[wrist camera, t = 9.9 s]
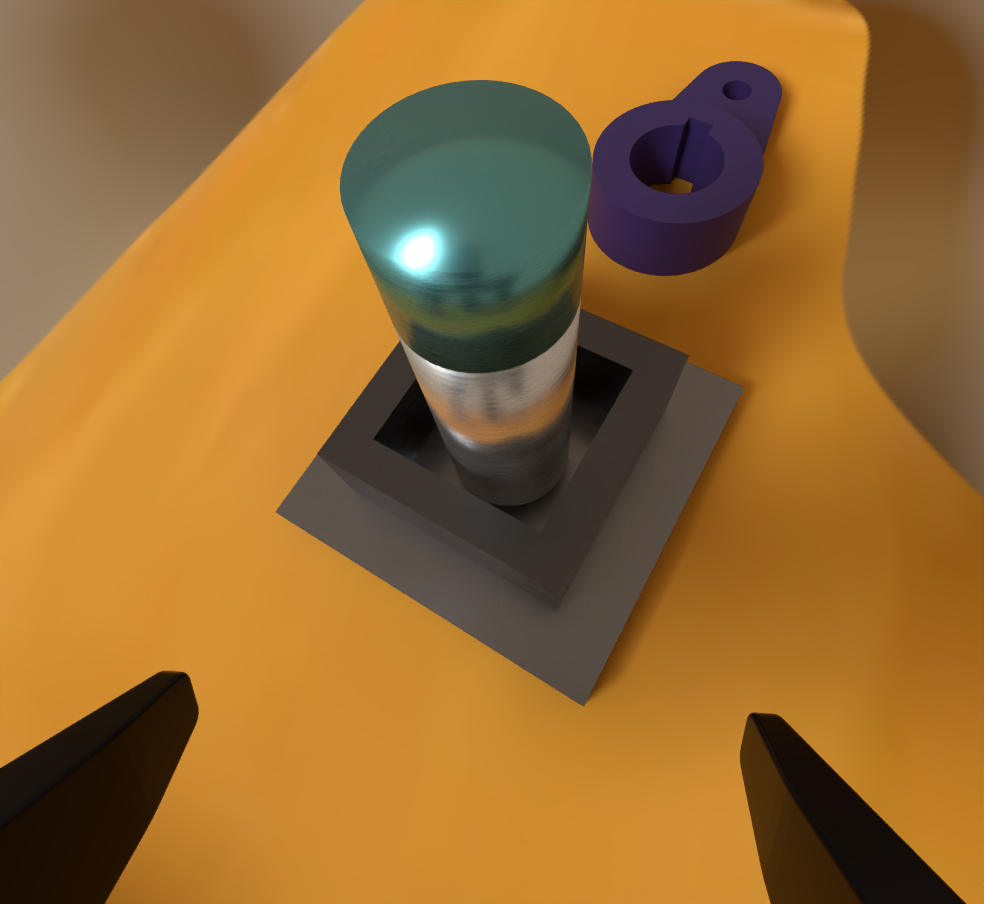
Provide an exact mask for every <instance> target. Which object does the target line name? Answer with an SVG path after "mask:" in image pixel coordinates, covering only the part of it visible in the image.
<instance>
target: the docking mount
mask: <svg viewBox="0 0 984 904" xmlns="http://www.w3.org/2000/svg"><path fill="white" fill-rule="evenodd" d="M688 357H689V355H687V354H685V353H682V352H680V351H678V350H675V349H673V348H671V347H668V346H666V345H664V344H661V343H659V342H657V341H654V340H652V339H650V338H647V337H645V336H643V335H640V334H638V333H636V332H633V331H631V330H629V329H626V328H624V327H622V326H619V325H617V324H615V323H612V322H610V321H608V320H605V319H603V318H601V317H598V316H596V315H594V314H591V313H589V312H587V311H585V310H582V309H580V317H579V329H578V342H577V354H576V366H575V378H574V390H573V402H572V414H571V426H570V438H569V451H568V459H567V464H566V467H565V470H564V472H563V475H562V477H561V478H560V480H559V481H558V483H557V484H556V485H555V486H554V487H553V488H552V489H551V490H550V491H549V492H548V493H547V494H545V495H544V496H542V497H541V498H539V499H537V500H535V501H532V502H530V503H527V504H522V505H516V506H502V505H496V504H493V503H489V502H487V501H485V500H483V499H481V498H479V497H477V496H476V495H475V494H473V493H472V492H471V491H470V490H469V489H468V488H467V487H466V486H465V485H464V483H463V482H462V480H461V479H460V477H459V475H458V473H457V471H456V468H455V466H454V464H453V461H452V459H451V457H450V454H449V452H448V450H447V447H446V445H445V443H444V441H443V438H442V436H441V434H440V431H439V429H438V427H437V424H436V422H435V420H434V417H433V415H432V413H431V411H430V408H429V406H428V404H427V401H426V399H425V397H424V394H423V392H422V390H421V387H420V385H419V383H418V381H417V378H416V376H415V374H414V371H413V369H412V367H411V364H410V362H409V360H408V357H407V355H406V353H405V351H404V348H403V346H402V344H401V341H399V343H398V344H397V346H396V347H395V348H394V350H393V351H392V352H391V354H390V355H389V356H388V358H387V359H386V361H385V362H384V363H383V365H382V366H381V367H380V369H379V370H378V371H377V373H376V374H375V376H374V377H373V378H372V380H371V381H370V382H369V384H368V385H367V386H366V388H365V389H364V391H363V392H362V393H361V395H360V396H359V397H358V399H357V400H356V401H355V403H354V404H353V406H352V407H351V408H350V410H349V411H348V412H347V414H346V415H345V417H344V418H343V419H342V421H341V422H340V423H339V425H338V426H337V427H336V429H335V430H334V432H333V433H332V434H331V436H330V437H329V438H328V440H327V441H326V442H325V444H324V445H323V447H322V448H321V449H320V451H319V452H318V453H317V456H316V457H315V458H314V460H313V461H312V463H311V464H310V465H309V467H308V468H307V469H306V471H305V472H304V473H303V475H302V476H301V478H300V479H299V480H298V482H297V483H296V484H295V486H294V487H293V488H292V490H291V491H290V493H289V494H288V495H287V497H286V498H285V499H284V501H283V502H282V504H281V505H280V506H279V508H278V509H277V510H276V513H278V514H279V515H281V516H283V517H284V518H286V519H287V520H289V521H291V522H292V523H294V524H295V525H297V526H298V527H300V528H302V529H303V530H305V531H306V532H308V533H310V534H311V535H313V536H314V537H316V538H317V539H319V540H321V541H322V542H324V543H325V544H327V545H329V546H330V547H332V548H333V549H335V550H336V551H338V552H340V553H341V554H343V555H344V556H346V557H348V558H349V559H351V560H352V561H354V562H355V563H357V564H359V565H360V566H362V567H363V568H365V569H367V570H368V571H370V572H371V573H373V574H375V575H376V576H378V577H379V578H381V579H382V580H384V581H386V582H387V583H389V584H390V585H392V586H394V587H395V588H397V589H398V590H400V591H401V592H403V593H405V594H406V595H408V596H409V597H411V598H413V599H414V600H416V601H417V602H419V603H420V604H422V605H424V606H425V607H427V608H428V609H430V610H432V611H433V612H435V613H436V614H438V615H439V616H441V617H443V618H444V619H446V620H447V621H449V622H451V623H452V624H454V625H455V626H457V627H459V628H460V629H462V630H463V631H465V632H466V633H468V634H470V635H471V636H473V637H474V638H476V639H478V640H479V641H481V642H482V643H484V644H485V645H487V646H489V647H490V648H492V649H493V650H495V651H497V652H498V653H500V654H501V655H503V656H504V657H506V658H508V659H509V660H511V661H512V662H514V663H516V664H517V665H519V666H520V667H522V668H523V669H525V670H527V671H528V672H530V673H531V674H533V675H535V676H536V677H538V678H539V679H541V680H543V681H544V682H546V683H547V684H549V685H550V686H552V687H554V688H555V689H557V690H558V691H560V692H562V693H563V694H565V695H566V696H568V697H569V698H571V699H573V700H574V701H576V702H577V703H579V704H581V705H582V706H584V705H585V703H586V701H587V699H588V697H589V695H590V693H591V691H592V689H593V687H594V685H595V683H596V681H597V679H598V677H599V675H600V673H601V671H602V669H603V667H604V665H605V663H606V661H607V659H608V657H609V655H610V653H611V651H612V649H613V647H614V646H615V644H616V642H617V640H618V638H619V636H620V634H621V632H622V630H623V628H624V626H625V624H626V622H627V620H628V618H629V616H630V614H631V612H632V610H633V608H634V606H635V604H636V602H637V600H638V598H639V596H640V594H641V592H642V590H643V588H644V586H645V584H646V582H647V580H648V578H649V576H650V574H651V572H652V570H653V568H654V566H655V564H656V562H657V560H658V558H659V556H660V554H661V552H662V550H663V548H664V546H665V544H666V542H667V540H668V538H669V536H670V534H671V532H672V530H673V528H674V526H675V524H676V522H677V520H678V518H679V516H680V514H681V512H682V510H683V508H684V506H685V504H686V502H687V500H688V498H689V496H690V494H691V492H692V490H693V488H694V486H695V484H696V482H697V480H698V478H699V476H700V474H701V472H702V470H703V468H704V466H705V464H706V462H707V460H708V458H709V456H710V454H711V452H712V451H713V449H714V447H715V445H716V443H717V441H718V439H719V437H720V435H721V433H722V431H723V429H724V427H725V425H726V423H727V421H728V419H729V417H730V415H731V413H732V411H733V409H734V407H735V405H736V403H737V401H738V399H739V397H740V395H741V393H742V391H743V389H744V387H743V386H741V385H738V384H736V383H734V382H731V381H729V380H727V379H724V378H722V377H720V376H718V375H715V374H713V373H711V372H708V371H706V370H704V369H701V368H699V367H697V366H695V365H692V364H690V363H688V362H686V361H687V359H688Z"/></svg>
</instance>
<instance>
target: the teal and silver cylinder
mask: <svg viewBox="0 0 984 904" xmlns="http://www.w3.org/2000/svg"><path fill="white" fill-rule="evenodd" d="M591 172H592V158H591V152H590V147H589V144H588V141H587V138H586V136H585V133H584V132H583V130H582V128H581V127H580V125H579V123H578V122H577V121H576V120H575V118H574V117H573V116H572V115H571V114H570V113H569V112H568V111H567V110H566V109H565V108H564V107H563V106H562V105H560V104H559V103H557V102H556V101H554V100H553V99H551V98H550V97H548V96H546V95H544V94H542V93H540V92H538V91H535V90H533V89H530V88H527V87H525V86H521V85H517V84H513V83H507V82H500V81H489V80H472V81H460V82H453V83H448V84H443V85H439V86H435V87H432V88H429V89H426V90H422V91H420V92H417V93H415V94H413V95H410V96H408V97H406V98H404V99H402V100H401V101H399V102H397V103H395V104H393V105H392V106H390V107H389V108H388V109H386V110H385V111H383V112H382V113H381V114H379V115H378V116H377V117H376V118H375V119H373V120H372V121H371V122H370V123H369V124H368V125H367V126H366V127H365V129H364V130H363V131H362V132H361V133H360V135H359V136H358V137H357V139H356V140H355V141H354V143H353V145H352V146H351V148H350V150H349V152H348V154H347V156H346V159H345V162H344V164H343V168H342V173H341V178H340V194H341V202H342V205H343V208H344V211H345V214H346V217H347V219H348V221H349V224H350V226H351V228H352V231H353V233H354V235H355V237H356V240H357V242H358V244H359V247H360V249H361V251H362V254H363V256H364V258H365V261H366V263H367V265H368V267H369V270H370V272H371V274H372V277H373V279H374V281H375V284H376V286H377V288H378V291H379V293H380V295H381V297H382V300H383V302H384V304H385V307H386V309H387V311H388V314H389V316H390V318H391V321H392V323H393V325H394V327H395V330H396V332H397V334H398V337H399V339H400V341H401V344H402V346H403V348H404V351H405V353H406V355H407V357H408V360H409V362H410V364H411V367H412V369H413V371H414V374H415V376H416V378H417V381H418V383H419V385H420V387H421V390H422V392H423V394H424V397H425V399H426V401H427V404H428V406H429V408H430V411H431V413H432V415H433V417H434V420H435V422H436V424H437V427H438V429H439V431H440V434H441V436H442V438H443V441H444V443H445V445H446V447H447V450H448V452H449V454H450V457H451V459H452V461H453V464H454V466H455V468H456V471H457V473H458V475H459V477H460V479H461V480H462V482H463V483H464V485H465V486H466V487H467V488H468V489H469V490H470V491H471V492H472V493H473V494H475V495H476V496H477V497H479V498H481V499H483V500H485V501H487V502H489V503H493V504H496V505H502V506H516V505H522V504H527V503H530V502H532V501H535V500H537V499H539V498H541V497H542V496H544V495H545V494H547V493H548V492H549V491H550V490H551V489H552V488H553V487H554V486H555V485H556V484H557V483H558V481H559V480H560V478H561V477H562V475H563V472H564V470H565V467H566V464H567V459H568V451H569V438H570V426H571V414H572V402H573V390H574V378H575V366H576V354H577V342H578V329H579V317H580V305H581V293H582V281H583V269H584V257H585V245H586V233H587V220H588V208H589V196H590V184H591Z"/></svg>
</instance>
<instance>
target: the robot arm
mask: <svg viewBox="0 0 984 904" xmlns="http://www.w3.org/2000/svg"><path fill="white" fill-rule="evenodd" d="M198 714H199V708H198V704H197V700H196V697H195V694H194V690H193V687H192V683H191V680H190V677H189V676H188V675H187V674H186V673H184V672H177V671H161V672H159V673H157V674H155V675H153V676H152V677H150V678H148V679H147V680H145V681H143V682H142V683H140V684H138V685H137V686H135V687H133V688H132V689H130V690H129V691H127V692H125V693H124V694H122V695H120V696H119V697H117V698H115V699H114V700H112V701H110V702H109V703H107V704H105V705H104V706H102V707H100V708H99V709H97V710H96V711H94V712H92V713H91V714H89V715H87V716H86V717H84V718H82V719H81V720H79V721H77V722H76V723H74V724H72V725H71V726H69V727H67V728H66V729H64V730H62V731H61V732H59V733H58V734H56V735H54V736H53V737H51V738H49V739H48V740H46V741H44V742H43V743H41V744H39V745H38V746H36V747H34V748H33V749H31V750H29V751H28V752H26V753H25V754H23V755H21V756H20V757H18V758H16V759H15V760H13V761H11V762H10V763H8V764H6V765H5V766H3V767H1V768H0V904H105V902H106V901H107V899H108V897H109V895H110V894H111V892H112V890H113V888H114V887H115V885H116V883H117V881H118V879H119V878H120V876H121V874H122V872H123V871H124V869H125V867H126V865H127V864H128V862H129V860H130V858H131V856H132V855H133V853H134V851H135V849H136V848H137V846H138V844H139V842H140V841H141V839H142V837H143V835H144V833H145V832H146V830H147V828H148V826H149V824H150V822H151V820H152V819H153V817H154V815H155V813H156V811H157V809H158V806H159V804H160V802H161V800H162V798H163V796H164V794H165V791H166V789H167V787H168V785H169V783H170V780H171V778H172V776H173V774H174V772H175V769H176V767H177V765H178V763H179V761H180V758H181V756H182V754H183V752H184V750H185V747H186V745H187V743H188V741H189V739H190V736H191V734H192V732H193V730H194V728H195V725H196V723H197V719H198ZM740 764H741V770H742V775H743V780H744V785H745V790H746V795H747V800H748V805H749V810H750V815H751V820H752V825H753V830H754V835H755V840H756V845H757V850H758V855H759V860H760V865H761V869H762V874H763V878H764V882H765V885H766V889H767V893H768V896H769V900H770V903H771V904H966V903H965V902H964V901H963V900H962V899H961V898H960V897H959V896H958V895H957V894H956V893H955V892H954V891H953V890H952V889H951V888H950V887H949V886H948V885H947V884H946V883H945V882H944V881H943V880H942V879H941V878H940V877H939V876H938V875H937V874H936V873H935V872H934V871H933V870H932V869H931V868H930V867H929V866H928V865H927V864H926V863H925V862H924V861H923V860H922V859H921V858H920V857H919V856H918V855H917V854H916V853H915V852H914V850H913V849H912V848H911V847H910V846H909V845H908V844H907V843H906V842H905V841H904V840H903V839H902V838H901V837H900V836H899V835H898V834H897V833H896V832H895V831H894V830H893V829H892V828H891V827H890V826H889V825H888V824H887V823H886V822H885V821H884V820H883V819H882V818H881V817H880V816H879V815H878V814H877V813H876V812H875V811H874V810H873V809H872V808H871V807H870V806H869V805H868V804H867V803H866V802H865V801H864V800H863V799H862V798H861V797H860V796H859V795H858V794H857V793H856V792H855V791H854V790H853V789H852V788H851V787H850V786H849V785H848V784H847V783H846V782H845V781H844V780H843V779H842V778H841V777H840V776H839V775H838V774H837V773H836V772H835V771H834V770H833V769H832V768H831V767H830V766H829V765H828V764H827V763H826V762H825V761H824V760H823V759H822V758H821V757H820V756H819V755H818V754H817V753H816V752H815V751H814V749H813V748H812V747H811V746H810V745H809V744H808V743H807V742H806V741H805V740H804V739H803V738H802V737H801V736H800V735H799V734H798V733H797V732H796V731H795V730H794V729H793V728H792V727H791V726H790V725H789V724H788V723H787V722H786V721H785V720H784V719H783V718H782V717H780V716H778V715H776V714H768V713H751V714H749V716H748V718H747V721H746V726H745V731H744V735H743V740H742V745H741V750H740Z"/></svg>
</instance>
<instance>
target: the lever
mask: <svg viewBox="0 0 984 904" xmlns="http://www.w3.org/2000/svg"><path fill="white" fill-rule="evenodd" d="M781 96H782V88H781V85H780V82H779V81H778V79H777V78H776V77H775V76H774V75H773V74H772V73H771V72H770V71H768V70H767V69H765V68H763V67H761V66H759V65H756V64H753V63H749V62H742V61H730V62H723V63H719V64H716V65H713V66H711V67H709V68H707V69H706V70H704V71H703V72H702V73H701V74H700V75H698V76H697V77H696V78H695V79H694V80H693V81H692V82H691V83H690V84H689V85H688V86H687V87H686V88H685V89H684V90H683V91H682V92H680V93H679V94H678V95H677V96H676V97H675V98H674V99H673V100H667V101H658V102H653V103H649V104H645V105H642V106H639V107H636V108H634V109H632V110H629V111H627V112H626V113H624V114H622V115H620V116H619V117H618V118H616V119H615V120H614V121H613V122H611V123H610V124H609V125H608V126H607V127H606V128H605V130H604V131H603V132H602V134H601V135H600V137H599V139H598V140H597V143H596V145H595V148H594V153H593V162H592V174H591V185H590V196H589V208H588V225H589V229H590V232H591V235H592V237H593V239H594V241H595V242H596V244H597V245H598V247H599V248H600V249H601V250H602V251H603V252H604V253H605V254H606V255H607V256H608V257H609V258H611V259H612V260H613V261H615V262H617V263H618V264H620V265H622V266H624V267H626V268H628V269H631V270H633V271H636V272H640V273H644V274H649V275H658V276H672V275H681V274H687V273H690V272H694V271H697V270H699V269H702V268H704V267H706V266H708V265H710V264H712V263H713V262H715V261H716V260H718V259H719V258H720V257H721V256H723V255H724V254H725V253H726V252H727V250H728V249H729V248H730V247H731V245H732V243H733V242H734V240H735V238H736V236H737V233H738V231H739V228H740V226H741V224H742V221H743V219H744V217H745V214H746V212H747V210H748V207H749V205H750V203H751V200H752V198H753V195H754V193H755V191H756V188H757V186H758V184H759V181H760V179H761V176H762V172H763V155H764V152H765V149H766V145H767V142H768V139H769V136H770V132H771V129H772V126H773V123H774V119H775V116H776V113H777V110H778V106H779V103H780V100H781ZM674 177H677V178H680V179H682V180H685V181H688V182H691V183H693V187H692V190H691V193H686V194H670V193H664V192H660V191H657V190H654V189H652V188H650V187H648V186H649V185H654V184H670V183H671V181H672V180H673V178H674Z"/></svg>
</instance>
